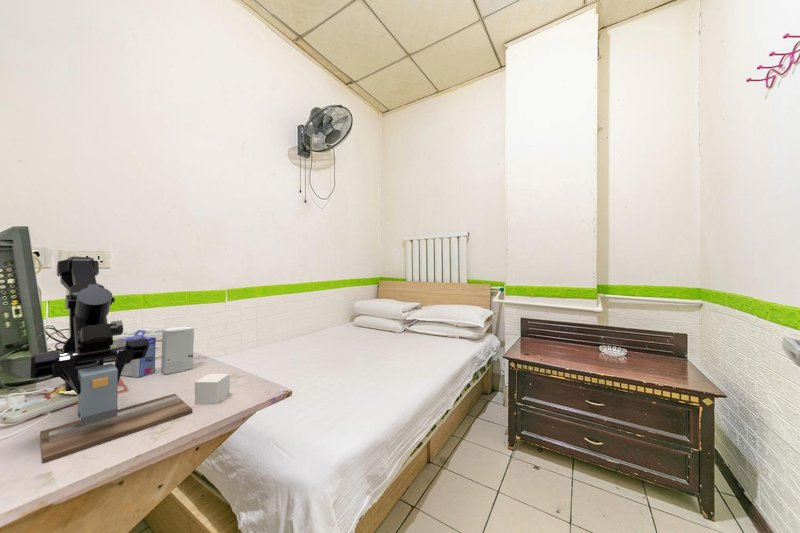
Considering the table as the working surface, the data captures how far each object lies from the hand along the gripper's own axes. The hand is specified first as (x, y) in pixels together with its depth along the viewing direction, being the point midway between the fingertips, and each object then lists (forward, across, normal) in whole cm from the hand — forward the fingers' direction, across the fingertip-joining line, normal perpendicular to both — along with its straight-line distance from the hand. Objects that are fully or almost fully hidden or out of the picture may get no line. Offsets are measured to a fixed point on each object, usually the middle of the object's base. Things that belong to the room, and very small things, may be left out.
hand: (98, 388), depth 65 cm
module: (+4, 0, +6) cm, 7 cm away
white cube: (+8, +22, +7) cm, 25 cm away
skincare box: (-16, +23, +31) cm, 42 cm away
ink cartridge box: (-20, +13, +35) cm, 43 cm away
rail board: (+6, +4, +8) cm, 11 cm away
